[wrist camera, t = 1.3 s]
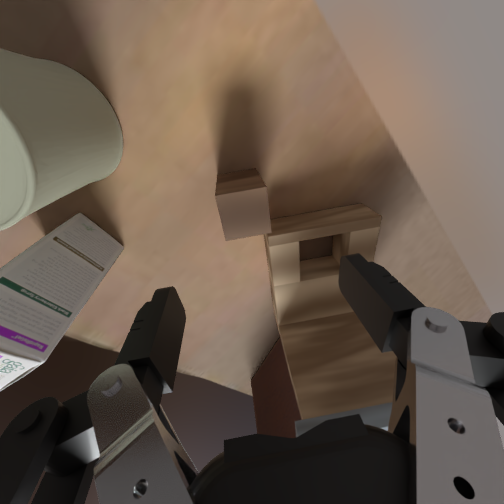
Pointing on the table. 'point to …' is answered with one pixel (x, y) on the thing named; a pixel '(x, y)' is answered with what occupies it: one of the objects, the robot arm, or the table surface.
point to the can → (50, 134)
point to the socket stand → (327, 319)
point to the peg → (242, 204)
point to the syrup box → (49, 292)
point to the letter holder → (275, 396)
